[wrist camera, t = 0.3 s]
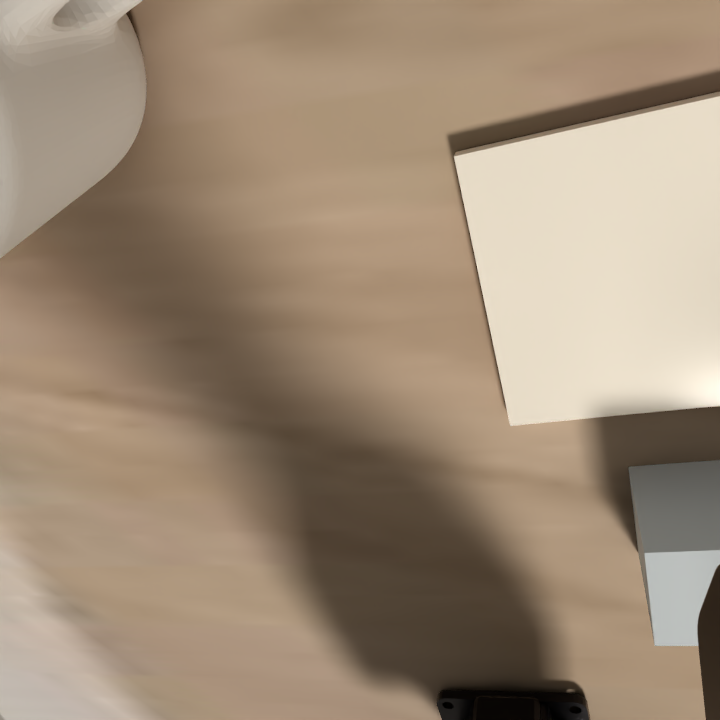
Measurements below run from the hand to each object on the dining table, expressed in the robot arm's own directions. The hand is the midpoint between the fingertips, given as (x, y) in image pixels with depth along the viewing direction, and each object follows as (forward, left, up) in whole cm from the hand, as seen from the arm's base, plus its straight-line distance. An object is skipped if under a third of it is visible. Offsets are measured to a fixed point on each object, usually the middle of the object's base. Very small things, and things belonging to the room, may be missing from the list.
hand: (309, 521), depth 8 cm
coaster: (-4, -5, -14) cm, 15 cm away
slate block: (-13, -6, -14) cm, 20 cm away
